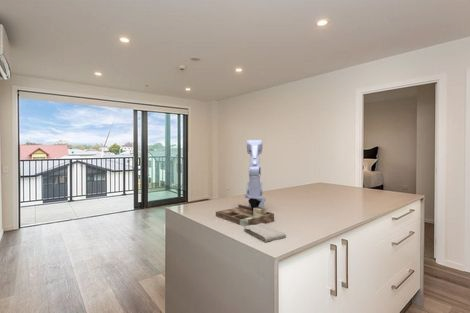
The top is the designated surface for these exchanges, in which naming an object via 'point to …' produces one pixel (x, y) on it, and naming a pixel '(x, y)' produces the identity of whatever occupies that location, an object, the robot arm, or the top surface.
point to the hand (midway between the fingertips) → (254, 212)
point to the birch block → (259, 211)
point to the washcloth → (264, 232)
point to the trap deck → (244, 216)
